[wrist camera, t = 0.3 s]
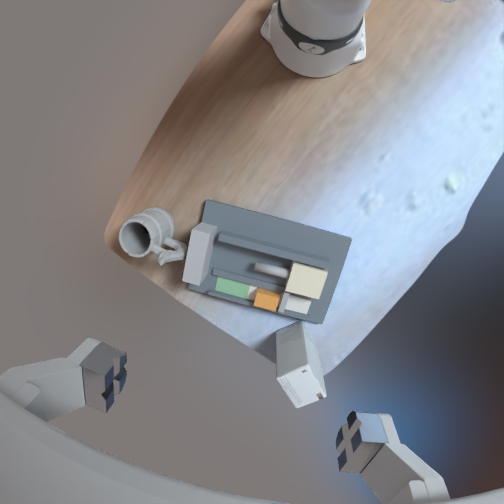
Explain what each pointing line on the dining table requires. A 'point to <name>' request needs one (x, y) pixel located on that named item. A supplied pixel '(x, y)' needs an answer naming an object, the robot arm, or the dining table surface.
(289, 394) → the skincare box
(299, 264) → the cream block with rods
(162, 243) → the mug
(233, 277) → the base
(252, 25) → the dining table surface
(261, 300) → the orange rectangular block
